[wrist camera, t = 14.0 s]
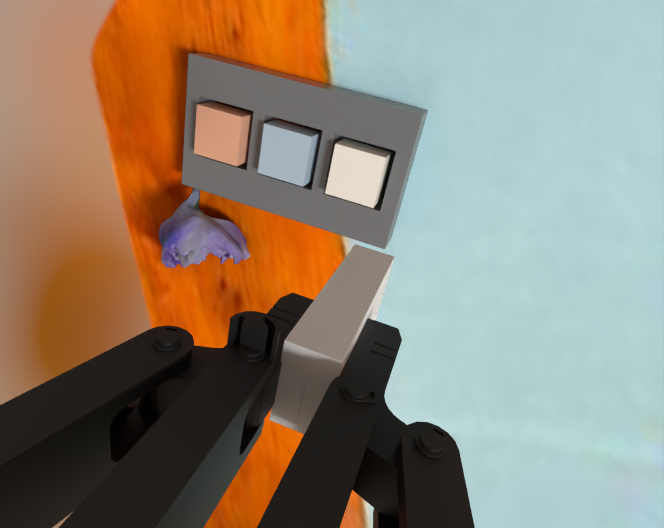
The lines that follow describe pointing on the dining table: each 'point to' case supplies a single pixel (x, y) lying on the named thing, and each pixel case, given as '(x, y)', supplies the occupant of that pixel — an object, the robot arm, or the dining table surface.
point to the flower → (199, 236)
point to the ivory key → (358, 172)
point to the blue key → (289, 152)
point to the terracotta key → (223, 133)
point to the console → (335, 121)
